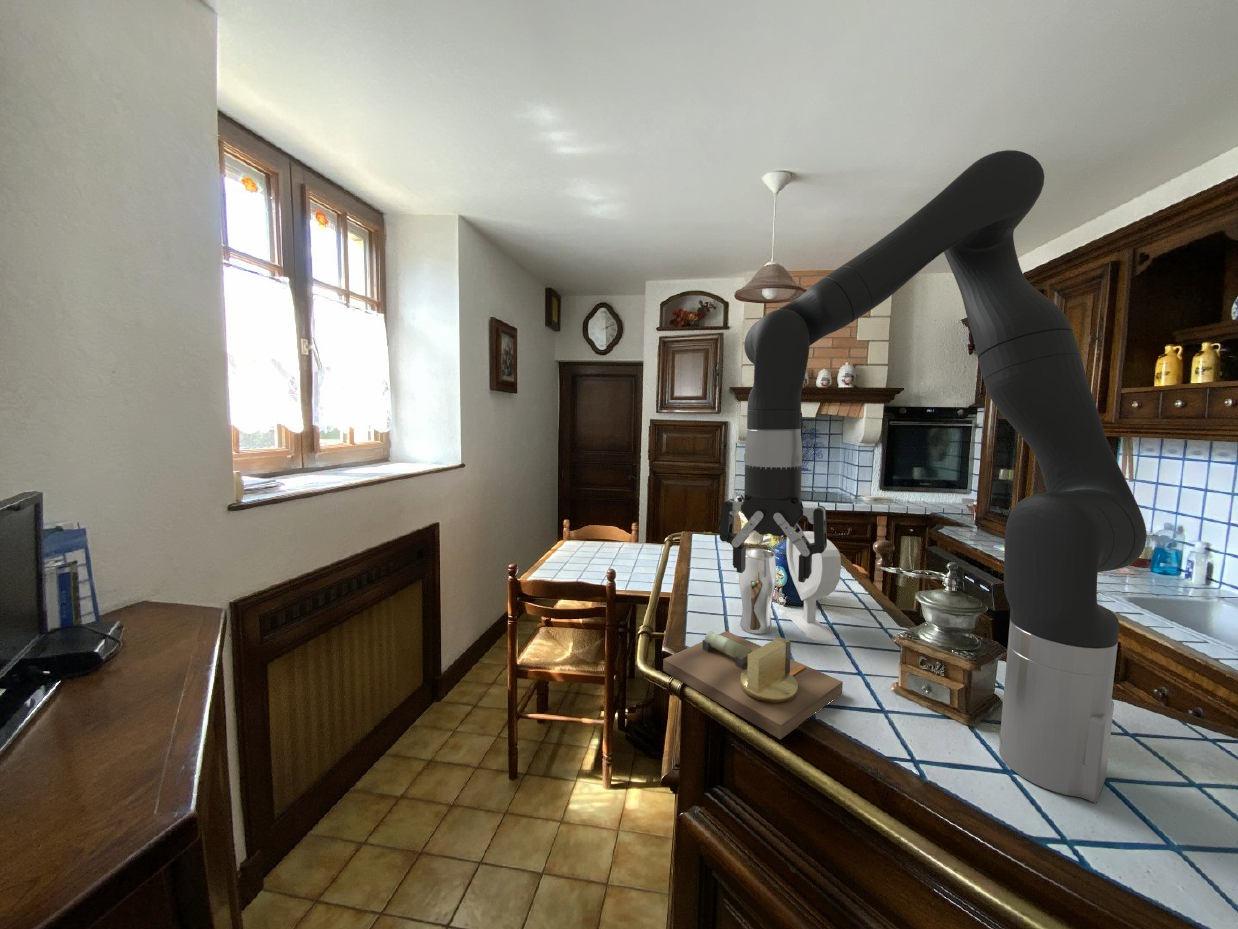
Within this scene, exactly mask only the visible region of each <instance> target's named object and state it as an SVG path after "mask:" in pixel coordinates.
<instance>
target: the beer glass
mask: <svg viewBox="0 0 1238 929" xmlns="http://www.w3.org/2000/svg"><path fill="white" fill-rule="evenodd" d="M776 564H777V563H776V553H775V552H773V551H772V550H768V549H763V548H753V547H752V548H746V568H745V571H744V572H743V573H738V584H739V586H738V587H739V591H740V596H741V597H740V598H741V604H742V606H741V607H742V609H741V611H742V612H741V618H740V624H739V626H740V628H741V630H743V631H744V632H746V633H749V634H753V635H765V634H766V635H767V634H769V633H771V632H772V630H773V625H772V624H773V623H772V618H771V608H772V603H773V602H772V601H773V598H774V592H775V588H776V582H777V581H776V580H777V565H776Z"/></svg>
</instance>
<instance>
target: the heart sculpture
mask: <svg viewBox="0 0 1238 929" xmlns="http://www.w3.org/2000/svg"><path fill="white" fill-rule="evenodd" d="M803 532H804V535H805V537H806V538H807V539H808V541H809V542H810V543H814V531H809V530H807V531H806V530H805V531H803ZM785 545H786V548H785V549H786V558H787V559H786V560H787V565H788V569H789V570H788V571H789V573H790V577H791V579H792V582H793V584H794V586H795V588H796V591H797V593H798V596H799V597H800V600H801V601H803V610H802V611H801V610H791V611H788V612H785V613H784V614H785V615H786V616H787V617H788V618H789V619H790V620H791V621H792V622H793V623H794V624H795V626H796V627H798V628H799V629H800V630H801V631H802V632H803V634H805V635H806V636H807V637H808V638H809V639H810V640H813V641H821V642H828V641H832V640H835V639H837V637H836V636H835V635H834V634H833V633H832V632H830V631H829V629H827V628H826V627H825V626H824V625H823V624H822V623H821V622H819V621H818V620H817V619H816V618H817V616H816V615H817V601H819V600H821V599H822V598H824V597H825V598H826V597H828V596H829V595H830V594H832V593H833V592H834V591H835V590H836V589H837V586H838V584H839V583H840V580H841V579H840V577H841V570H842V559H841V557H842V556H841V553H840V552H839V550H838V549H837V547H836V546H835V544H834V543H833V542H832V541H831V540H829V539H828V538H827V547H826V549H825V550H824V552H823V553H816V554H813V555H812V573H811V575H810V577H809V578H808V579H806V580H805V582H804V583H803V582H798V571H799V555H800V554H801V553H800V552H799V550H798V549H797V548H796V546H795V545H794V544H793V543H792V542H791V541H790V540H789V538H788V537H787V536H786V544H785Z"/></svg>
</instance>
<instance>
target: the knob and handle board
mask: <svg viewBox="0 0 1238 929" xmlns="http://www.w3.org/2000/svg"><path fill="white" fill-rule="evenodd" d="M762 646H763V645H760V644H757V643H754V642H752V641H751V640H748V639H746V638H743V637H741V636H739V635H737V634H735V633H733V632H729V631H728V630H726V631H722V633H717V632H715V631H713V630H709V631H708V632H706V634H705V636H704V639H703V640H702V641H701V642H699V643H696V644H693V645H692V646H690V647H687V648H685V649H683V650H680V651H678V652H676V653H674V654H672V655H670V656H668V657H665V658H663V659H662V660H663V661H662V662H663V663H662V664H663V666H662V669H663V672H665V673H666V674H668V675H669V676H671V677H673V678H675V679H677V680H678V681H680V682H682V683H683V684H685V685H687V686H689V687H690V688H692V689H694V690H695V691H697V692H699V693H701V695H702V694H703V695H704V696H706V697H707V698H709V699H710V700H712V701H714V702H715V703H717V704H719V705H720V706H722V707H724V708H726V709H728V710H729V711H730V712H733V713H735V714H736V715H738V716H739V717H741V718H742V719H745V720H746V721H748V722H750V723H751V724H753V725H755V726H756V727H759V728H760V729H762V730H763V731H765V732H767V733H768V734H770V735H771V736H774V737H775V738H777V740H782V739H783V738H784V737H786V736H788V735H789V734H790V733H791V732H793V731H794V730H795V729H797V728H798V727H800V726H801V725H802V724H803V723H802V722H803V721H804V720H805V719H806V718H809V717H810V716H811V715H813V714H814V713H815V712H817V711H819V710H820V709H821V708H823V707H824V706H825V705H827V704H828V703H829V702H831V701H832V700H834V699H835V700H837V699H838V698H839V697H841V696H842V695H843V681H842V680H840V679H837V678H836V677H833V676H831V675H828V674H826V673H824V672H822V671H819V670H816V669H814V668H812V667H810V666H808V665H805V664H803V663H801V662H799V661H796V660H793V659H792V658H790V673H789V674H791V675H792V676H793V677H794V678H795V679H796V681H797V683H798V692H797V695H796V697H795V698H794V699H792V700H790V701H787V702H781V703H772V702H766V701H761V700H758V699H756V698H754V697H752V696H750V695H748V694H747V693H746V692H745V691H744V690H743V689H742V687H741V684H740V682H741V673H742V672H743V671H744V670H745V669H747V668H748V654H749V653H751V652H753V651H755V650H757V649H758V648H760V647H762ZM841 694H842V695H841ZM840 695H841V696H840ZM838 696H839V697H838ZM837 697H838V698H837ZM835 700H834V701H835ZM832 702H833V701H832ZM832 702H831V703H832ZM828 705H829V704H828ZM828 705H827V706H828ZM824 708H825V707H824ZM824 708H823V709H824ZM821 710H822V709H821ZM821 710H820V711H821ZM820 711H819V712H820ZM817 713H818V712H817ZM813 716H814V715H813ZM809 719H810V718H809ZM801 723H802V724H801ZM800 724H801V725H800ZM799 725H800V726H799Z"/></svg>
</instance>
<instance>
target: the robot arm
mask: <svg viewBox="0 0 1238 929" xmlns="http://www.w3.org/2000/svg"><path fill="white" fill-rule="evenodd" d="M1044 172H1045V170H1044V168H1043V167H1042V163H1040V162H1039V161H1038V159H1037V158H1035V157H1034V156H1032V155H1031V154H1029V153H1026V152H1024V151H1022V150H1021V151H1020V150H1015V149H1014V150H1013V149H1012V150H1011V149H1006V150H999V151H996V152H992V153H990V154H987V155H985V156H983V157H981V158H979V159H977V160H975V162H973V163H972V164H971V165H970V166H968V167H967V168H966V169H965V170H964V171H963V172H962V173H961V174H960V175H958V176H957V177H956V178H955V179H954V180H953V181H952V182H950V184H948V185H947V186H946V187H945V188H944V189H943V190H942V191H940V192H939V193H938V194H937V195H935V197H933V198H932V199H931V200H930V201H928V203H926V204H925V205H924V206H923V207H922V208H920V209H919V210H918V211H916V212H915V213H914V214H912V215H911V216H910V217H909V218H908V219H906V220H905V221H904V222H903V223H901V224H900V225H899V226H897V227H896V228H895V229H893V230H892V231H891V232H889V233H888V234H886V235H885V236H884V237H882V238H881V239H880V240H878V241H876V243H873V244H872V245H871V246H870V247H868V248H867V249H865V250H864V251H862V252H861V253H859V254H858V255H856V256H854V258H851V259H850V260H849V261H847V262H845V263H844V264H842V265H841V266H840V267H837V268H836V269H835V270H833V271H832V272H830V273H829V274H827V275H825V276H824V277H822V278H821V279H819V280H817V281H816V282H815V283H814V284H813V285H812V286H810V287H809V288H808V289H807V290H806V291H805V292H803V293H802V294H801V295H799V296H798V297H796V298H795V299H793V300H792V301H790V302H788V303H787V304H785V305H783V306H781V307H780V308H778V309H775V310H772V311H770V312H769V313H767V314H765V315H764V316H762V317H761V318H760V319H759V320H758V321H756V322H755V323H754V324H753V325H752V326H751V327H750V328H749V330H748V331H747V333H746V335H745V338H744V342H743V343H744V344H743V347H744V353H745V355H746V357H747V359H748V360H749V362H751V363H752V364H753V365H754V366H753V367H754V369H753V385H752V389H751V390H750V391H749V394H748V398H747V407H746V408H747V410H746V412H747V413H746V415H747V416H746V417H747V418H746V421H747V422H746V429H747V430H746V438H745V442H744V443H745V444H744V455H743V461H744V487H743V488H744V489H743V491H744V498H743V501H737V500H736V501H735V499H733V498H729V499H727V500H725V501H723V502H722V503H721V512H720V526H719V540H720V541H721V542H723V543H725V542H726V543H727V544H730V545H731V547H732V566H733V568H734V569H736V573H737V574H739V573H743V572H744V571H745V568H746V549H747V546H746V544H745V542H746V540H747V539H748V538H749V537H750V536H751V535H752V533H753V532H756V533H757V534H758V535H763V536H764V535H768V534H769V535H771V536H774V537H782V536H786V538H787V537H788V538H789V540H790V541H791V542H792V543H793V544H794V545H795V546H796V548H797V549H798V550H799V552H800V553H801V554H800V555H799V571H798V582H803V583H804V582H805V580H806V579H808V578H809V577H810V575H811V573H812V555H813V554H816V553H823V552H824V550H825V549H826V547H827V539H828V537H827V536H828V533H827V511H826V507H825V506H823V505H818V506H817V507H806V506H805V507H804V505H803V503H802V468H803V467H802V466H803V465H802V463H803V461H802V460H803V442H802V433H801V431H802V430H801V424H802V423H801V421H802V398H801V397H802V390H803V387H804V383H805V378H806V374H807V368H808V362H809V355H810V346H811V345H813V344H815V343H816V342H818V341H819V340H821V339H822V338H824V337H826V336H827V335H830V334H833V333H834V332H836V331H839V330H842V329H843V328H845V327H847V326H848V325H850V324H851V323H853V322H854V321H856V320H858V319H859V318H861V317H862V316H864V315H865V314H867V313H869V312H871V311H872V310H874V309H875V308H876V307H878V306H879V305H880V304H883V303H884V301H886V300H888V299H889V298H890V297H891V296H892V295H894V294H895V293H896V292H897V291H898V290H900V289H901V288H902V287H903V286H904V285H906V284H907V282H909V281H910V280H911V279H912V278H913V277H915V275H917V274H918V273H919V272H920V271H922V270H923V269H924V268H925V267H926V266H927V265H929V264H930V263H931V262H932V261H934V260H935V259H936V258H937V257H939V256H940V255H942V254H944V256H945V258H946V260H947V263H948V265H949V267H950V270H951V272H952V275H953V277H954V280H955V282H956V284H957V287H958V289H959V292H960V294H961V298H962V301H963V306H964V310H965V315H966V318H967V321H968V326H969V329H970V332H971V335H972V339H973V343H974V347H975V351H976V356H977V361H978V364H979V369H980V372H981V376H982V379H983V383H984V386H985V389H986V392H987V394H988V397H989V398H990V400H991V402H992V403H993V405H994V406H995V407H996V409H997V410H998V411H999V413H1000V414H1001V415H1002V416H1003V417H1004V419H1005V420H1006V421H1007V422H1008V423H1009V425H1010V426H1011V427H1013V429H1014V430H1015V431H1016V433H1018V434H1019V436H1020V437H1021V438H1022V439H1023V441H1025V443H1026V444H1027V445H1028V446H1029V448H1030V450H1031V452H1032V453H1033V455H1034V457H1035V459H1036V461H1037V463H1038V465H1039V468H1040V470H1041V474H1042V477H1043V481H1044V484H1045V485H1044V486H1045V489H1046V492H1041V493H1035V494H1031V495H1029V496H1027V497H1025V498H1023V499H1021V500H1020V501H1018V502H1017V503H1016V505H1014V507H1013V508H1012V510H1011V511H1010V513H1009V516H1008V518H1007V521H1006V526H1005V531H1004V532H1005V533H1004V546H1003V547H1004V550H1003V551H1004V554H1003V555H1004V556H1003V557H1004V559H1003V560H1004V561H1003V588H1004V595H1005V597H1006V600H1007V601H1008V602H1007V603H1008V605H1009V608H1010V610H1009V611H1010V614H1009V615H1010V616H1009V628H1008V642H1007V652H1006V665H1005V674H1004V675H1005V676H1004V687H1003V697H1002V698H1003V699H1002V708H1001V709H1002V711H1001V724H1000V733H999V745H998V746H999V747H998V752H999V755H1000V758H1001V759H1002V761H1003V762H1004V764H1006V766H1007V767H1008V768H1010V769H1011V770H1012V771H1013V772H1015V773H1016V774H1017V775H1019V776H1021V777H1022V778H1023V779H1025V780H1027V781H1028V782H1030V783H1032V784H1034V785H1037V786H1039V787H1041V788H1043V789H1046V790H1049V791H1052V792H1054V793H1057V794H1061V795H1065V796H1069V797H1070V796H1071V797H1078V798H1083V799H1085V800H1087V801H1090V802H1091V803H1095V804H1096V803H1098V801H1099V797H1100V795H1101V792H1102V790H1103V786H1104V785H1105V782H1106V778H1107V771H1108V762H1109V752H1110V746H1111V736H1112V734H1111V733H1112V728H1113V727H1112V726H1113V715H1114V707H1115V703H1114V700H1112V699H1113V697H1112V696H1113V689H1114V688H1113V687H1114V678H1115V673H1116V672H1115V670H1116V663H1117V661H1116V660H1117V653H1118V643H1119V637H1120V636H1119V633H1120V620H1119V618H1118V617H1117V615H1116V614H1115V613H1114V612H1112V611H1111V610H1109V609H1108V608H1106V607H1105V606H1103V605H1100V604H1098V573H1104V572H1110V571H1115V570H1121V569H1123V568H1125V567H1128V566H1130V565H1132V564H1133V563H1135V562H1136V561H1137V560H1138V559H1139V558H1140V556H1141V555H1142V554H1143V553H1144V550H1145V548H1146V544H1147V526H1146V522H1145V519H1144V516H1143V513H1142V511H1141V509H1140V507H1139V505H1138V502H1137V501H1136V498H1135V497H1134V496H1135V495H1134V494H1133V492H1132V490H1131V488H1130V486H1129V483H1128V482H1127V480H1126V478H1125V475H1124V474H1123V471H1122V470H1121V467H1120V465H1119V462H1118V461H1117V459H1116V456H1115V455H1114V453H1113V450H1112V448H1111V445H1110V443H1109V440H1108V439H1107V435H1106V432H1105V429H1104V426H1103V423H1102V419H1101V416H1100V413H1099V409H1098V407H1097V404H1096V402H1095V398H1094V396H1093V392H1092V390H1091V388H1090V384H1089V382H1088V378H1087V374H1086V371H1085V366H1084V363H1083V360H1082V355H1081V352H1080V348H1079V346H1078V343H1077V340H1076V336H1075V333H1074V330H1073V328H1072V324H1071V323H1070V321H1069V319H1068V316H1066V314H1065V312H1063V310H1062V309H1061V308H1060V307H1059V306H1058V305H1057V304H1056V303H1055V302H1053V301H1052V300H1051V299H1050V298H1048V297H1047V296H1046V295H1044V294H1043V293H1042V292H1040V291H1039V290H1038V289H1037V288H1035V286H1033V285H1032V284H1031V283H1030V282H1029V280H1027V278H1026V277H1025V276H1026V275H1024V272H1023V270H1022V269H1021V266H1020V262H1019V258H1018V255H1017V251H1016V246H1015V240H1014V231H1015V229H1016V228H1017V227H1018V226H1019V225H1020V223H1021V222H1022V221H1023V220H1024V218H1025V217H1026V216H1027V215H1028V214H1029V212H1030V211H1031V210H1032V209H1033V207H1034V206H1035V204H1036V203H1037V200H1038V199H1039V198H1040V195H1041V194H1042V191H1043V187H1044V184H1045V173H1044ZM739 511H741V513H742V514H743V517H745V519H746V520H747V522H746V523H745V525H744V526H743V527H742V528H741V529H740V531H739V532H738V533H737V534H736V533H734V525H735V524H734V522H735V516H737V515H738V513H739ZM803 516H805V517H806V518H807V521H808V523H809V524H811V525H813V532H814V543H810V542H809V541H808V539H807V538H806V537H805V535H804V532H805V531H804V530H803V529H802V528H801V526H800V525H799V523H798V522H799V521H800V520H801V519H802V517H803Z"/></svg>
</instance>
